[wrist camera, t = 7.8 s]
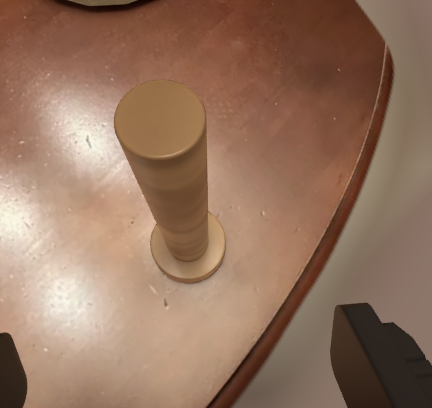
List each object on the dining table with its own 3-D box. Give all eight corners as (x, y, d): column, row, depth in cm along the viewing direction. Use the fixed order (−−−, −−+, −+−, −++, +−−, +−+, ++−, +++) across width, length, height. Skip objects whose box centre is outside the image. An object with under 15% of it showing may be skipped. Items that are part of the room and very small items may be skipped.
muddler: (221, 210, 25) (236, 43, 11) (227, 280, 24) (253, 190, 10) (152, 215, 25) (76, 52, 11) (154, 286, 24) (69, 203, 9)
